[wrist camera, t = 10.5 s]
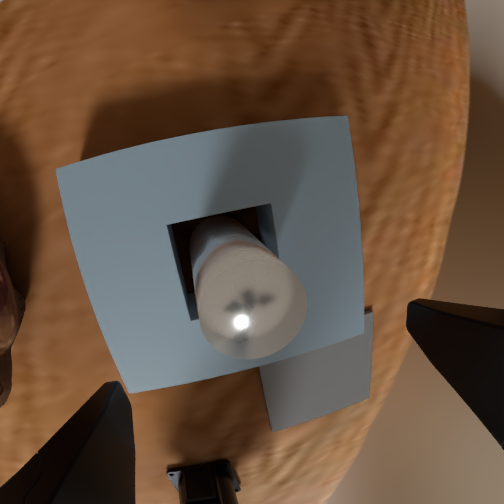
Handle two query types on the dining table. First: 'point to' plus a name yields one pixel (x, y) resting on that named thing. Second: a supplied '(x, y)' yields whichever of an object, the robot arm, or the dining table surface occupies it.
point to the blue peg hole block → (205, 204)
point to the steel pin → (243, 291)
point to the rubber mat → (319, 380)
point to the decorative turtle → (8, 324)
